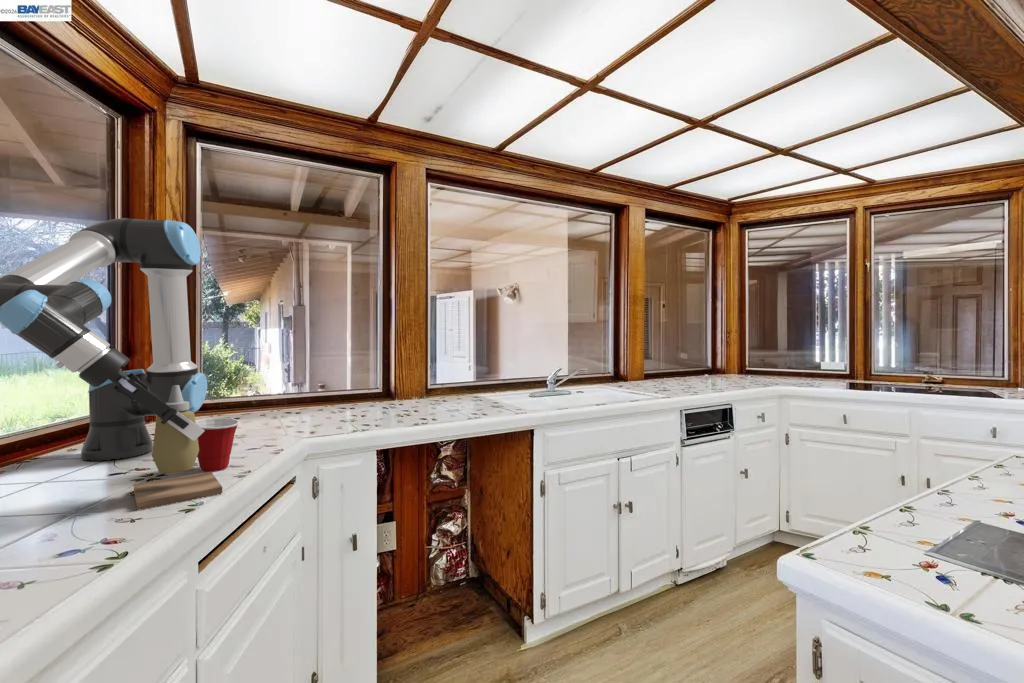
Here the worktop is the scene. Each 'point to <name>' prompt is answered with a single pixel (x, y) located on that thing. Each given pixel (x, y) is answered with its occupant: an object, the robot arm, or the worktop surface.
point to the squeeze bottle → (174, 439)
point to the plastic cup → (215, 442)
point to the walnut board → (176, 490)
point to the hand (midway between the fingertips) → (196, 432)
